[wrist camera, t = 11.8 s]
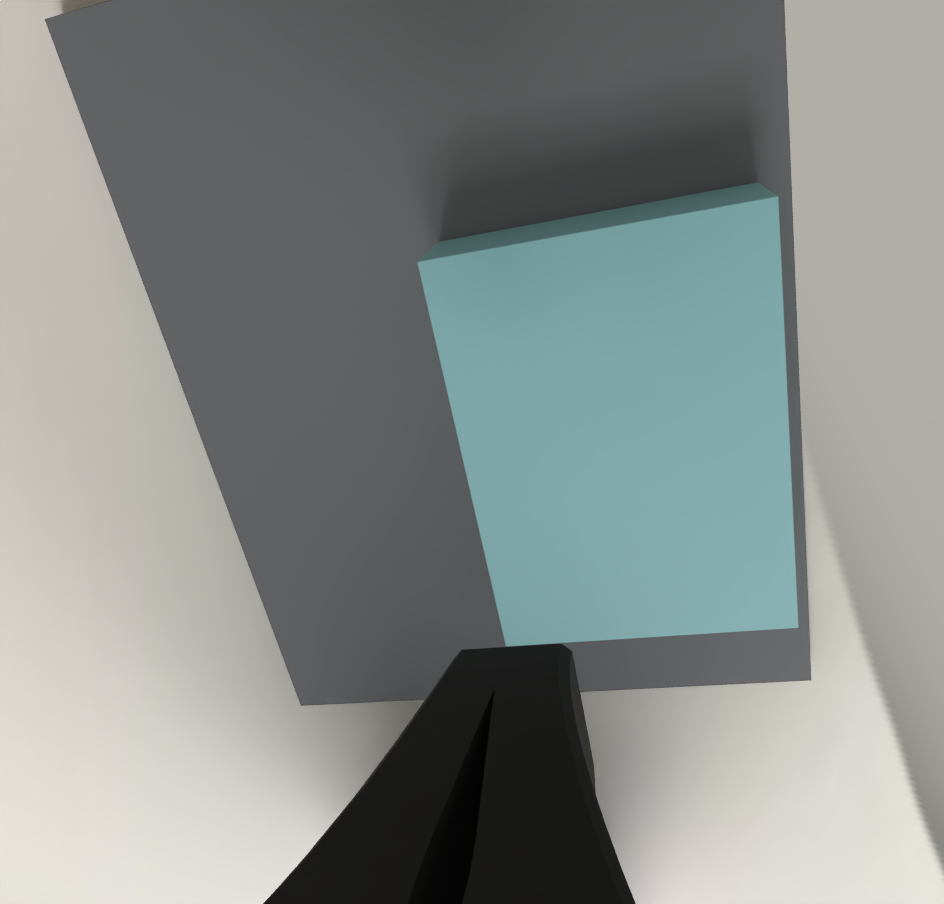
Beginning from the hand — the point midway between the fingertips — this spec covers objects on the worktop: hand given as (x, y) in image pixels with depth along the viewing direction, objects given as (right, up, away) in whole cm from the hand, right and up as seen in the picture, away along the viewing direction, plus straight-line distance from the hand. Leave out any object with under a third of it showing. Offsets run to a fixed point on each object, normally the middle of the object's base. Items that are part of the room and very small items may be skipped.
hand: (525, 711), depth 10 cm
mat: (-1, +5, +9) cm, 10 cm away
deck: (-1, +3, +8) cm, 8 cm away
